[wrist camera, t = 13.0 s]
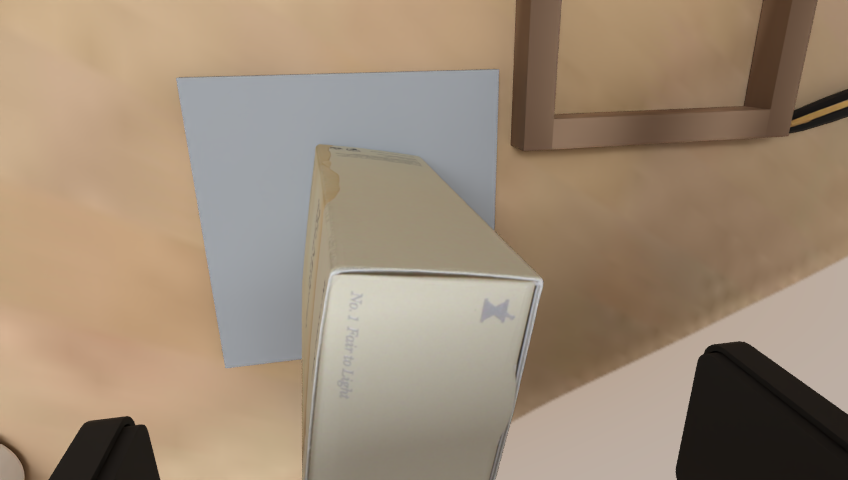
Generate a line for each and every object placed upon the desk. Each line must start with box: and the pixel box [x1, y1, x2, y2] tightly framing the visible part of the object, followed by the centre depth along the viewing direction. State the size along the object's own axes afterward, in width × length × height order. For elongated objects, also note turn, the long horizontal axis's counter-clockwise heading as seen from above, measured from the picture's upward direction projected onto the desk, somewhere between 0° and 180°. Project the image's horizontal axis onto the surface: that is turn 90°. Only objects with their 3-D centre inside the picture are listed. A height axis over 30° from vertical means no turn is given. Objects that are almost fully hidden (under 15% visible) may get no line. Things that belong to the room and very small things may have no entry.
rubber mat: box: [176, 69, 499, 368], centre depth 22 cm, size 12×12×1 cm
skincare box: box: [302, 144, 544, 480], centre depth 16 cm, size 6×4×12 cm
